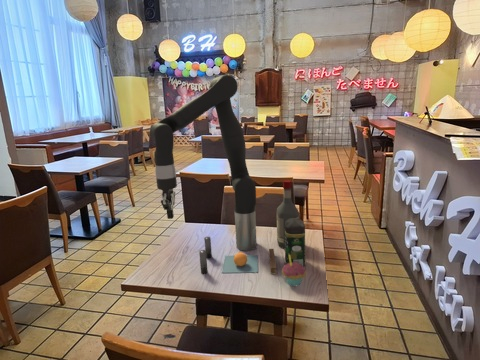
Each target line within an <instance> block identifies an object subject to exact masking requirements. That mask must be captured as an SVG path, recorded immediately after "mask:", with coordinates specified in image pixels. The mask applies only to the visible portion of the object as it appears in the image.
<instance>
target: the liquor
mask: <svg viewBox="0 0 480 360" xmlns="http://www.w3.org/2000/svg"><path fill="white" fill-rule="evenodd" d="M282 189H283V199H282V202H281V203H280V205H278V207H277V208H276V240H277V244H278V248H281V249H284V250H285V222H286V221H287V220H288V219H289V218H299V219H300V212H299V209H298V208H297V206H296V205H295V204H294V203H293V200H292V180H291V179H284V180H282Z"/></svg>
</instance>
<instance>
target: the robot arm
mask: <svg viewBox="0 0 480 360" xmlns="http://www.w3.org/2000/svg"><path fill="white" fill-rule="evenodd" d="M238 85H239V84H238V81H237V80H236V79H235V78H234V76H232V75H230V74H223V75H220V76H217V77H216V76H215V77H214V78H213V79H212V80H211V82H210V83H209V89H208V90H206V91H205V92H203V93H202V94H200V95H198V96H197V97H195V98H193V99H192V100H190V101H188V102H186V103H185V104H183V105H182V106H180V107H178V108H177V109H176V110H175V111H173V112H172V113H171V114H169V115H168V116H166V117H164V118H161V120H159V121H157V122H156V123H154V124H153V125H152V126H151V127H150V129H149V136H150V138H151V139H152V140H153V141H154V142H155V143H154V144H155V151H154V153H153V155H154V165H155V168H154V169H155V170H154V171H155V180H156V187H157V189H158V190H161V191H162V193H161V197H162V199H161V200H160V204H161V205H162V208H163V209H164V211H166V218H167V219H169V220H172V219H173V218H174V217H175V216H174V206H175V204H176V202H175V201H176V191H174V189H176V188H177V186H178V184H177V183H178V182H177V173H176V172H177V171H176V166H175V160H174V154H173V152H174V143H175V142H174V137H175V136H174V133H176V132H177V131H180V130H183V129H184V128H186V127H188V126H190V124H192V123H193V122H194V121H196V120H197V119H199V117H201V116H203V115H204V114H205V113H206V112H208V111H209V110H211V109H212V108H213V107H214V110H215V111H216V116H217V121H218V125H219V130H220V134H221V136H220V137H221V139H222V145H223V149H224V152H225V155H226V158H227V161H228V164H229V168H230V169H229V170H230V178H231V186H232V189H233V192H234V202H235V203H234V224H235V225H234V226H235V229H234V230H235V245H236V249H237V250H240V251H252V250H256V249H257V222H256V205H257V187H256V182H255V181H254V180H253V179H252V177H251V176H250V174H249V170H248V167H247V161H246V160H247V159H246V152H247V151H246V147H247V146H246V140H245V134H244V131H243V127H242V125H241V123H240V121H239V119H238V118H237V116H236V114H235V112H234V110H233V106H232V101H231V98H233V97H234V96H235V95H236V93H237V92H238V87H239V86H238Z"/></svg>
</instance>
